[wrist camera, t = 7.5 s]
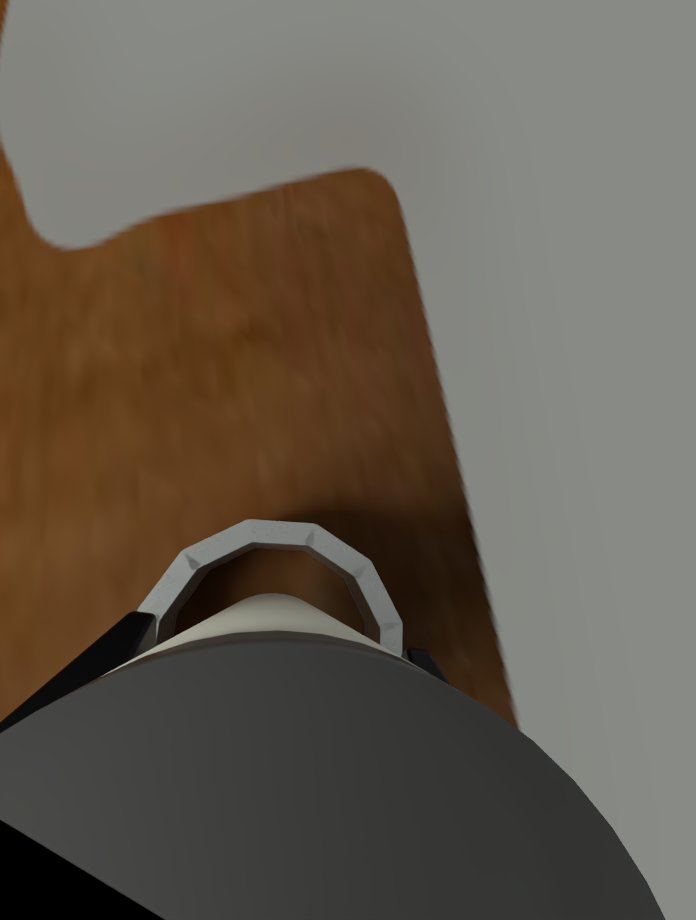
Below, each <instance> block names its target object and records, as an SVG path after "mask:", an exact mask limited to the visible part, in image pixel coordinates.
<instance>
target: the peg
mask: <svg viewBox="0 0 696 920" xmlns="http://www.w3.org/2000/svg"><path fill="white" fill-rule="evenodd" d="M0 920H665V918H664V916H663V914H662V912H661V910H660V908H659V906H658V904H657V902H656V900H655V898H654V896H653V894H652V892H651V890H650V888H649V886H648V884H647V882H646V880H645V878H644V877H643V875H642V874H641V872H640V871H639V869H638V868H637V866H636V864H635V863H634V861H633V860H632V858H631V856H630V855H629V853H628V852H627V850H626V849H625V847H624V846H623V844H622V842H621V841H620V839H619V838H618V836H617V835H616V833H615V831H614V830H613V828H612V827H611V826H610V824H609V823H608V822H607V821H606V820H605V818H604V817H603V816H602V815H601V813H600V812H599V811H598V810H597V808H596V807H595V806H594V805H593V803H592V802H591V801H590V800H589V798H588V797H587V796H586V795H585V794H584V792H583V791H582V790H581V789H580V787H579V786H578V785H577V784H576V782H575V781H574V780H573V779H572V778H571V777H570V776H569V775H568V774H567V773H566V772H565V771H564V770H562V769H561V768H560V767H559V766H558V765H557V764H556V763H555V762H554V761H553V760H552V759H551V758H550V757H549V756H548V755H547V754H546V753H545V752H544V751H543V750H542V749H541V748H540V747H539V746H538V745H537V744H536V743H535V742H534V741H533V740H531V739H530V738H528V737H527V736H526V735H524V734H523V733H522V732H520V731H519V730H518V729H516V728H515V727H514V726H512V725H511V724H510V723H508V722H507V721H506V720H504V719H503V718H502V717H500V716H499V715H498V714H496V713H495V712H494V711H492V710H491V709H490V708H488V707H486V706H485V705H483V704H481V703H480V702H478V701H476V700H474V699H473V698H471V697H469V696H467V695H466V694H464V693H462V692H461V691H459V690H457V689H455V688H454V687H452V686H450V685H448V684H447V683H445V682H443V681H442V680H440V679H438V678H436V677H435V676H433V675H431V674H429V673H428V672H426V671H424V670H422V669H421V668H419V667H417V666H416V665H414V664H412V663H410V662H409V661H407V660H405V659H403V658H402V657H400V656H398V655H397V654H395V653H393V652H391V651H390V650H388V649H386V648H384V647H383V646H381V645H379V644H377V643H376V642H374V641H372V640H371V639H369V638H367V637H365V636H364V635H362V634H360V633H358V632H357V631H355V630H353V629H352V628H350V627H348V626H346V625H345V624H343V623H341V622H339V621H338V620H336V619H334V618H333V617H331V616H329V615H327V614H326V613H324V612H322V611H320V610H319V609H317V608H315V607H313V606H312V605H310V604H308V603H306V602H305V601H303V600H301V599H299V598H296V597H293V596H290V595H286V594H279V593H265V594H260V595H255V596H252V597H249V598H246V599H244V600H242V601H239V602H237V603H236V604H234V605H232V606H230V607H228V608H226V609H224V610H223V611H221V612H219V613H217V614H215V615H213V616H212V617H210V618H208V619H206V620H204V621H202V622H200V623H199V624H197V625H195V626H193V627H191V628H189V629H188V630H186V631H184V632H182V633H180V634H178V635H176V636H175V637H173V638H171V639H169V640H167V641H165V642H163V643H162V644H160V645H158V646H156V647H154V648H152V649H151V650H149V651H147V652H145V653H143V654H141V655H139V656H138V657H136V658H134V659H132V660H130V661H128V662H127V663H125V664H123V665H121V666H119V667H117V668H115V669H114V670H112V671H110V672H108V673H106V674H104V675H103V676H101V677H99V678H97V679H95V680H93V681H91V682H90V683H88V684H86V685H84V686H82V687H80V688H78V689H77V690H75V691H73V692H71V693H69V694H67V695H66V696H64V697H62V698H60V699H58V700H56V701H54V702H53V703H51V704H49V705H47V706H45V707H43V708H42V709H40V710H38V711H36V712H34V713H33V714H31V715H29V716H28V717H26V718H25V719H23V720H21V721H20V722H18V723H16V724H15V725H13V726H12V727H10V728H8V729H7V730H5V731H3V732H2V733H0Z"/></svg>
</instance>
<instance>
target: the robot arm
mask: <svg viewBox="0 0 696 920" xmlns="http://www.w3.org/2000/svg"><path fill="white" fill-rule="evenodd" d="M156 631H157V618H156V615H155V614H153V613H147V612H139V611H133V612H130V613H128V614H127V615H126V616H125V617H124V618H122V619H121V620H120V621H119V622H118V623H116V624H115V625H114V626H113V627H112V628H111V629H109V630H108V631H107V632H106V633H105V634H104V635H102V636H101V637H100V638H99V639H98V640H97V641H95V642H94V643H93V644H92V645H91V646H89V647H88V648H87V649H86V650H85V651H84V652H82V653H81V654H80V655H79V656H78V657H77V658H75V659H74V660H73V661H72V662H71V663H69V664H68V665H67V666H66V667H65V668H64V669H62V670H61V671H60V672H59V673H58V674H57V675H55V676H54V677H53V678H52V679H51V680H50V681H48V682H47V683H46V684H45V685H44V686H42V687H41V688H40V689H39V690H38V691H37V692H35V693H34V694H33V695H32V696H31V697H30V698H28V699H27V700H26V701H25V702H24V703H23V704H21V705H20V706H19V707H18V708H17V709H15V710H14V711H13V712H12V713H11V714H10V715H8V716H7V717H6V718H5V719H4V720H3V721H1V722H0V733H2V732H3V731H5V730H7V729H8V728H10V727H12V726H13V725H15V724H16V723H18V722H20V721H21V720H23V719H25V718H26V717H28V716H29V715H31V714H33V713H34V712H36V711H38V710H40V709H42V708H43V707H45V706H47V705H49V704H51V703H53V702H54V701H56V700H58V699H60V698H62V697H64V696H66V695H67V694H69V693H71V692H73V691H75V690H77V689H78V688H80V687H82V686H84V685H86V684H88V683H90V682H91V681H93V680H95V679H97V678H99V677H101V676H103V675H104V674H106V673H108V672H110V671H112V670H114V669H115V668H117V667H119V666H121V665H123V664H125V663H127V662H128V661H130V660H132V659H134V658H136V657H138V656H139V655H141V654H143V653H145V652H147V651H149V650H151V649H152V648H154V647H156ZM401 657H402V658H403V659H405V660H407V661H409V662H410V663H412V664H414V665H416V666H417V667H419V668H421V669H422V670H424V671H426V672H428V673H429V674H431V675H433V676H435V677H436V678H438V679H440V680H442V681H443V682H445V683H447V684H448V685H450V684H449V682H448V681H447V679H446V678H445V676H444V675H443V673H442V672H441V670H440V669H439V667H438V666H437V664H436V663H435V661H434V660H433V658H432V657H431V655H430V654H429V653H428V652H427V651H426V650H423V649H415V648H406V649H405V650H404V651H403V653H402V655H401ZM450 686H451V685H450Z"/></svg>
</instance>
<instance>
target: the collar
mask: <svg viewBox="0 0 696 920" xmlns="http://www.w3.org/2000/svg"><path fill="white" fill-rule="evenodd" d="M254 548H260V549H278V550H295V551H304V552H305V553H307V554H308V555H310V556H311V557H313V558H314V559H316V560H317V561H319V562H320V563H322V564H323V565H325V566H326V567H328V568H329V569H331V570H332V571H334V572H335V573H337V574H338V575H340V576H341V577H343V579H344V581H345V583H346V585H347V587H348V589H349V591H350V594H351V596H352V598H353V600H354V602H355V604H356V606H357V608H358V610H359V612H360V614H361V616H362V618H363V620H364V636H365V637H367V638H369V639H371V640H372V641H374V642H376V643H377V644H379V645H381V646H383V647H384V648H386V649H388V650H390V651H391V652H393V653H395V654H397V655H398V656H400V657H401V655H402V630H403V623H402V621H401V619H400V617H399V615H398V613H397V611H396V609H395V607H394V605H393V603H392V601H391V599H390V597H389V595H388V593H387V591H386V589H385V587H384V585H383V583H382V581H381V579H380V577H379V575H378V573H377V572H376V570H375V568H374V566H373V564H372V562H371V560H369V559H368V558H366V557H365V556H363V555H362V554H360V553H359V552H357V551H356V550H354V549H353V548H351V547H350V546H348V545H347V544H345V543H344V542H342V541H341V540H339V539H338V538H336V537H335V536H333V535H332V534H330V533H329V532H327V531H326V530H324V529H323V528H321V527H320V526H318V525H317V524H316V525H315V524H314V523H299V522H284V521H268V520H253V519H248V520H245V521H243V522H241V523H239V524H237V525H234V526H232V527H230V528H228V529H226V530H224V531H222V532H220V533H218V534H215V535H213V536H211V537H209V538H207V539H205V540H203V541H201V542H199V543H196V544H194V545H192V546H190V547H188V548H186V549H184V550H183V551H181V552H180V554H179V555H178V556H177V558H176V559H175V560H174V562H173V563H172V564H171V566H170V567H169V568H168V570H167V571H166V572H165V574H164V575H163V576H162V578H161V579H160V580H159V582H158V583H157V584H156V586H155V587H154V588H153V590H152V591H151V592H150V594H149V595H148V596H147V598H146V599H145V600H144V602H143V603H142V604H141V606H140V607H139V608H138V610H137V611H139V612H147V613H153V614H155V615H156V618H157V631H156V646H158V645H160V644H162V643H163V642H165V641H167V640H169V639H171V638H173V637H174V634H175V626H176V619H177V614H178V613H179V612H180V610H181V609H182V607H183V606H184V605H185V603H186V602H187V600H188V599H189V598H190V596H191V595H192V594H193V592H194V591H195V589H196V588H197V587H198V585H199V584H200V582H201V581H202V580H203V578H204V577H205V576H206V574H207V573H208V571H210V570H212V569H214V568H216V567H218V566H220V565H222V564H224V563H226V562H228V561H230V560H232V559H234V558H236V557H238V556H240V555H242V554H244V553H246V552H248V551H250V550H252V549H254Z"/></svg>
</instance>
